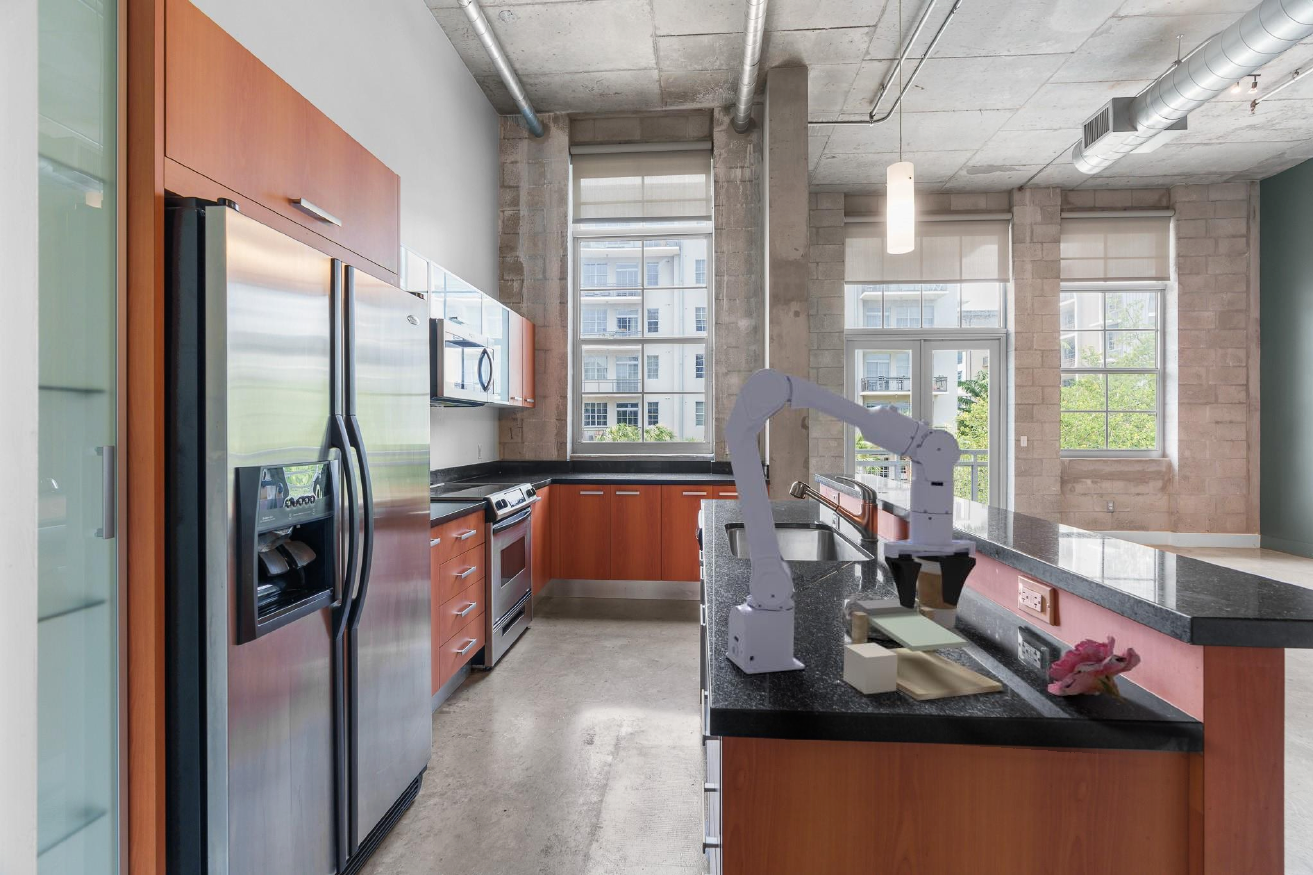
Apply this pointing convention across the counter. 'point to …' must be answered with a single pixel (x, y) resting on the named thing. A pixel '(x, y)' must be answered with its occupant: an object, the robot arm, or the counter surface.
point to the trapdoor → (907, 626)
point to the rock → (871, 631)
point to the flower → (1091, 669)
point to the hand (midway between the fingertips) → (928, 605)
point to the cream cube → (870, 668)
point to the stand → (928, 668)
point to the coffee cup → (934, 592)
